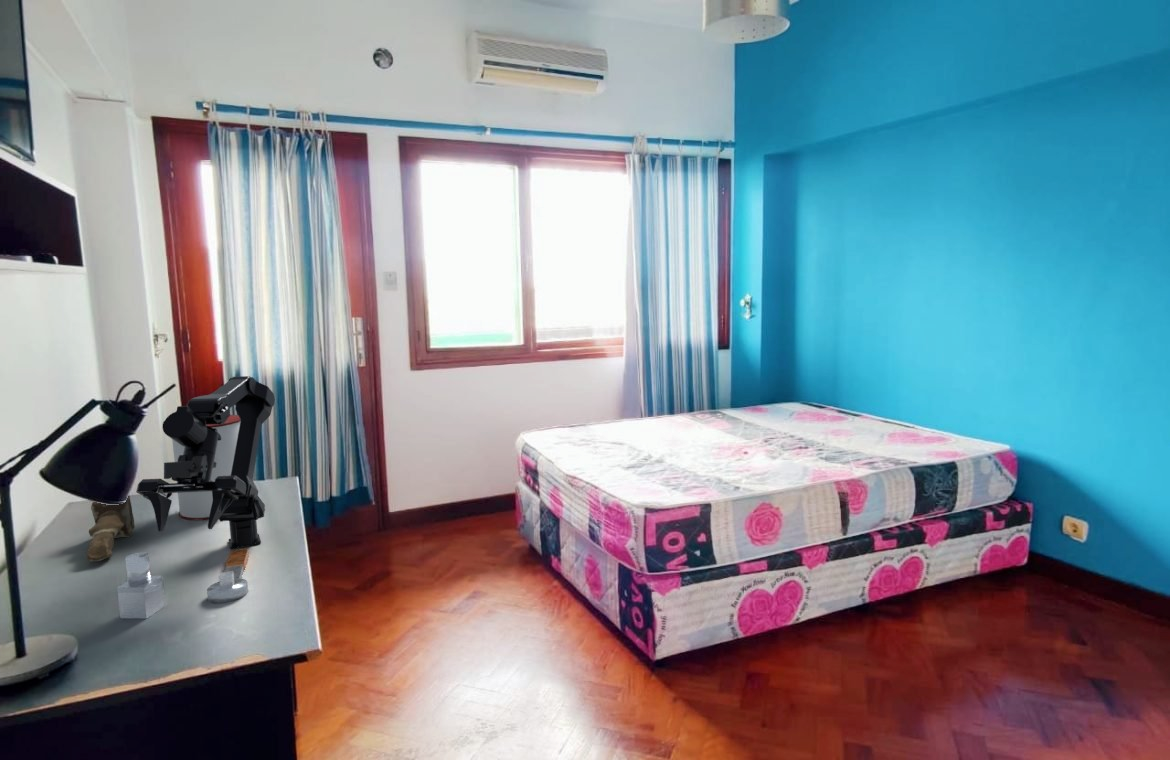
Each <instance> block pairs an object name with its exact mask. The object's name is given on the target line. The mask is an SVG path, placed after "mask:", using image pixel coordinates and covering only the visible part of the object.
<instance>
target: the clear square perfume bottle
mask: <svg viewBox="0 0 1170 760" xmlns="http://www.w3.org/2000/svg"><path fill="white" fill-rule="evenodd" d="M150 561H151V560H150V554H149V552H147V551H140V552H134V553H131V554H129V555H127V556H126V557H125V567H126V576H127V581H125V582H124V583H122V584H121V585H119V586H117V587H116V589H117V592H116V593H117V597H118V599H117V601H118V608H119V615H120V616H119V617H120V619H135V620H136V619H139V620H140V619H143V620H144V619H148V618H151V616H153V615H154V614H156V613H157V612H159V611H160V610H162V609H163V608H164V607H166V600H165V599H166V598H165V589H164V581H163V575H152V572H151V562H150Z"/></svg>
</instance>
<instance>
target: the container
mask: <svg viewBox="0 0 1170 760" xmlns="http://www.w3.org/2000/svg"><path fill="white" fill-rule="evenodd" d="M240 421H241V419H240V417H239V415H238V414H230V416H229V417H228V419H227V420H226V421H225V423H223V424H214V425H206V426H209V427H211V428H216V429H217V431H218V433H219V434H220V435H221V440H218V441H217V447H216V452H215V458H214V462H216V468H213V470H212V475H211V481H213V482H215V479H216V478H217V477H218V476H231V471H232V465H233V460H234V454H235V449H236V443H237V438H238V432H239V427H240ZM171 441H172V450H173V459H174V461H173V462H177V461H178V457H179V455H183V453H184V448H185V446H182V445H180V444H179V443H177V442H176V441H174V440H173V439H171ZM176 483H178V481H176ZM184 488H188V487H184ZM177 496H178V497H177V498H178V499H177V500H178V507H179V512H178V517H179V518H181V519H183V520H188V521H205V520H206V521H208V520H209V515H210V511H211V506H212V502H213V497H212V491H205V492H182V493H177Z"/></svg>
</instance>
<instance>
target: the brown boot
mask: <svg viewBox="0 0 1170 760" xmlns="http://www.w3.org/2000/svg"><path fill="white" fill-rule="evenodd" d="M90 510H91V513H92V516H93V519H94V523H95V524H94V525H93V526H92V527H91V528H89V529H88V534H89V536H90V537H93V538H92V540H91V541H90V544H89V548H88V549H87V551H86V552H87V553H86V559H87V560H88V561H89V562H100V561H103V560H105V559H108V558H110V557H112V556H113V551H112V550H113V548H115V547H114V546H115V539H118V537H125V538H129V537H131V536H132V535H133V534H134V530H135V528H136V527H135V518H134V513H133V506H132V501H131V496H130V495H129V496H128V498H127V500H126V502H125V503H123V504H119V505H106V504H101V503H97V502H93V501H92V503H91V506H90ZM128 536H129V537H128ZM113 538H114V539H113Z"/></svg>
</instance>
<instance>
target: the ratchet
mask: <svg viewBox="0 0 1170 760" xmlns="http://www.w3.org/2000/svg"><path fill="white" fill-rule="evenodd" d="M248 558H250V552H249V548H245V547H244V548H237V549H230V551H229V554H228V557H227V560H226V563H225V569H224V572H223V571H222V572H220V574H219V577H218V579H219V581H217V582H214V583H212V584H211V585H209V586H208V587H207V589H206V591H207V592H206V594H207V601H208V602H209V603H210V604H214V605H221V604H228V603H233V602H235V601H238V600H240V599H243V598H244V597H246V596H247V595H248V594H249V586H248V580H247V579H245V578H243V577H242V575H243V576H244V573H245V571H246V569H247V566H246V565H248V562H249V559H248ZM245 568H246V569H245ZM244 570H245V571H244ZM243 572H244V573H243Z"/></svg>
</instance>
